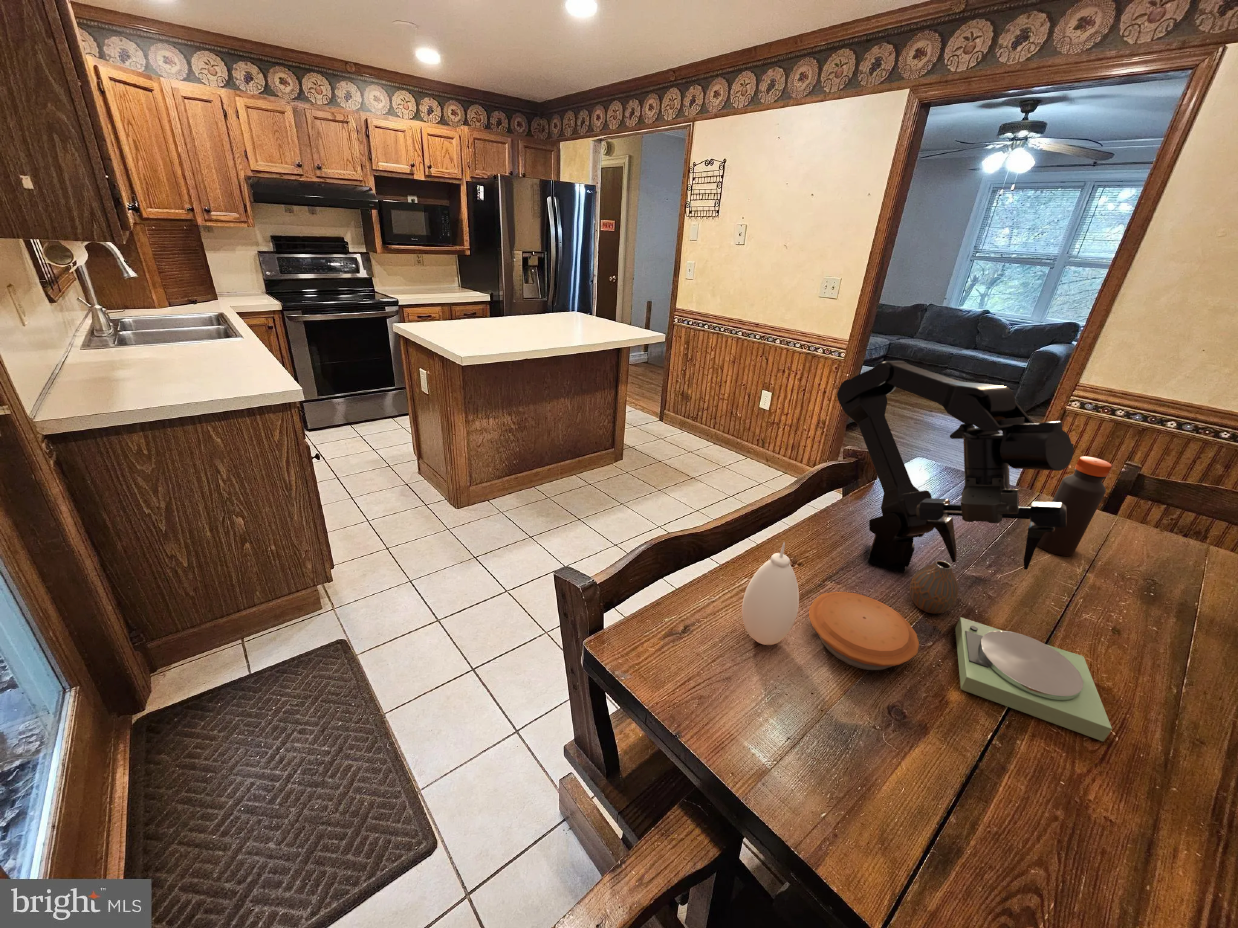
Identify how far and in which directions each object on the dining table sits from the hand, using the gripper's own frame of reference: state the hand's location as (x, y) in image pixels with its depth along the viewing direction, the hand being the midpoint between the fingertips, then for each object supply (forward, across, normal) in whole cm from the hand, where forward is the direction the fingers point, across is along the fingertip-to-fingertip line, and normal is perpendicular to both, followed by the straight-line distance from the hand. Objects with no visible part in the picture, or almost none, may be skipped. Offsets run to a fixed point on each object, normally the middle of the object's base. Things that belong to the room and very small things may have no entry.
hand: (988, 565), depth 81 cm
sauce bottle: (+8, -26, -26) cm, 38 cm away
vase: (+9, -9, +1) cm, 13 cm away
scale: (+15, +4, -6) cm, 17 cm away
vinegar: (+6, +6, +42) cm, 43 cm away
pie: (+10, -15, -16) cm, 25 cm away
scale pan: (+12, +5, -6) cm, 15 cm away
